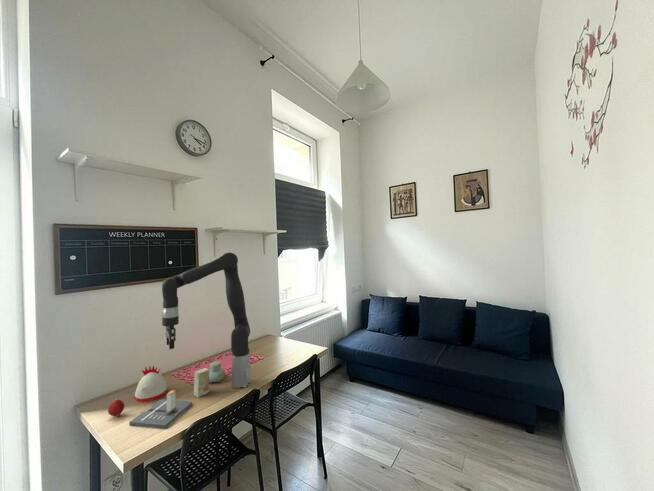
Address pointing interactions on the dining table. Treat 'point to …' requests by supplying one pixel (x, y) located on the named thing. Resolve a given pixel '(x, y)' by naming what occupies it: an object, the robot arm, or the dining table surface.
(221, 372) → the air freshener
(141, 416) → the console
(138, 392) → the kitchen timer
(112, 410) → the onion
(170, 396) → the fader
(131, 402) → the dining table surface
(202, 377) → the skincare box
